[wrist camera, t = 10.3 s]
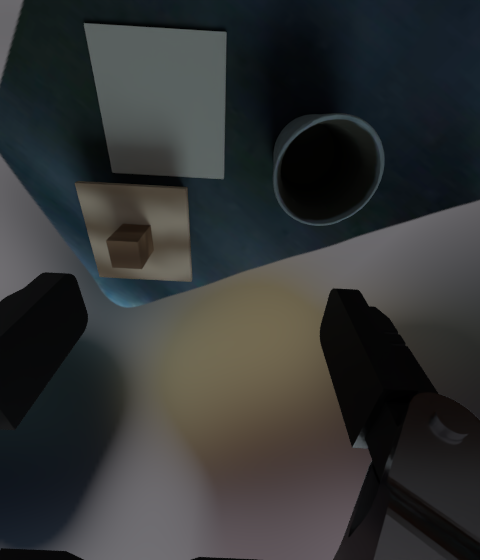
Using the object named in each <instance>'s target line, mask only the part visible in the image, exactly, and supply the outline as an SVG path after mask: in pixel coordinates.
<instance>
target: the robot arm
mask: <svg viewBox="0 0 480 560" xmlns="http://www.w3.org/2000/svg"><path fill="white" fill-rule="evenodd" d="M87 322H88V314H87V310H86V307H85V304H84V301H83V298H82V295H81V291H80V288H79V285H78V282H77V280H76V278H75V276H74V275H72V274H65V273H42V274H40V275H39V276H38V277H37V278H36V279H34V280H33V281H32V282H31V283H30V284H28V285H27V286H26V287H25V288H23V289H21V290H19V291H17V292H15V293H13V294H11V295H9V296H7V297H6V298H4V299H3V300H2V301H1V302H0V429H5V430H6V429H8V430H15V429H16V428H17V426H18V425H19V424H20V422H21V421H22V419H23V418H24V417H25V415H26V413H27V412H28V410H29V409H30V408H31V407H32V405H33V404H34V402H35V401H36V399H37V398H38V397H39V395H40V394H41V392H42V391H43V389H44V388H45V387H46V385H47V384H48V382H49V381H50V380H51V378H52V377H53V375H54V374H55V372H56V371H57V370H58V368H59V367H60V365H61V364H62V362H63V361H64V360H65V358H66V357H67V355H68V354H69V353H70V351H71V350H72V348H73V346H74V345H75V344H76V343H77V341H78V340H79V338H80V337H81V335H82V334H83V333H84V331H85V329H86V326H87ZM320 342H321V346H322V349H323V353H324V356H325V359H326V363H327V366H328V369H329V373H330V376H331V379H332V383H333V386H334V389H335V393H336V396H337V399H338V402H339V405H340V409H341V412H342V416H343V419H344V422H345V426H346V429H347V432H348V435H349V439H350V442H351V445H352V447H353V448H368V449H369V452H370V455H371V458H372V462H371V463H370V465H369V468H368V471H367V473H366V476H365V479H364V482H363V485H362V487H361V490H360V493H359V496H358V499H357V501H356V504H355V507H354V510H353V512H352V516H351V518H350V521H349V524H348V526H347V529H346V532H345V535H344V537H343V540H342V542H341V545H340V547H339V549H338V551H337V553H336V555H335V557H334V559H333V560H480V420H479V419H478V418H477V417H476V416H475V415H474V414H473V413H472V412H471V411H470V410H468V409H467V408H466V407H464V406H463V405H462V404H460V403H458V402H456V401H455V400H453V399H451V398H449V397H446V396H443V395H441V394H438V392H437V391H436V389H435V388H434V386H433V385H432V383H431V382H430V380H429V378H428V377H427V375H426V374H425V372H424V371H423V369H422V368H421V366H420V365H419V364H418V362H417V360H416V359H415V357H414V355H413V354H412V352H411V351H410V349H409V348H408V347H407V346H405V342H404V340H403V339H402V337H401V336H400V335H398V331H397V329H396V328H395V326H394V325H393V323H392V322H391V320H390V319H389V318H388V317H387V316H386V315H384V314H383V313H382V312H381V311H380V310H378V309H377V308H376V307H369V306H368V304H367V302H366V301H365V299H364V297H363V295H362V294H361V292H360V291H359V290H353V289H332V290H331V292H330V294H329V298H328V301H327V305H326V308H325V312H324V316H323V319H322V323H321V327H320ZM0 560H83V559H81V558H79V557H77V556H75V555H73V554H71V553H69V552H67V551H49V550H48V551H47V550H25V549H24V550H23V549H3V548H1V550H0ZM192 560H254V559H233V558H232V559H231V558H210V557H198V558H195V559H192ZM255 560H256V559H255Z"/></svg>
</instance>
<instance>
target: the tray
mask: <svg viewBox="0 0 480 560" xmlns="http://www.w3.org/2000/svg"><path fill="white" fill-rule="evenodd" d="M84 27H85V33H86V38H87V43H88V48H89V53H90V59H91V64H92V69H93V74H94V79H95V85H96V90H97V95H98V100H99V106H100V111H101V116H102V121H103V126H104V132H105V137H106V142H107V147H108V153H109V158H110V163H111V168H112V173H126V174H143V175H161V176H179V177H196V178H214V179H224V146H225V90H226V32H218V31H202V30H186V29H170V28H154V27H137V26H121V25H105V24H89V23H84Z"/></svg>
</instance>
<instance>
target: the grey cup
mask: <svg viewBox="0 0 480 560" xmlns="http://www.w3.org/2000/svg"><path fill="white" fill-rule="evenodd" d="M273 160H274V168H273V169H274V170H273V187H274V192H275V195H276V198H277V200H278V202H279V204H280V206H281V207H282V209H283V210H284V211H285V212H286V213H287V214H288V215H289V216H291V217H292V218H294V219H295V220H297V221H299V222H302V223H305V224H308V225H317V226H322V225H330V224H334V223H337V222H339V221H342V220H344V219H346V218H348V217H350V216H352V215H353V214H355V213H356V212H357V211H359V210H360V209H361V208H362V207H363V206H364V205H365V204H366V203H367V202H368V201H369V200H370V198H371V197H372V196H373V194H374V193H375V191H376V189H377V187H378V185H379V183H380V180H381V177H382V174H383V169H384V151H383V147H382V143H381V140H380V138H379V136H378V134H377V133H376V131H375V130H374V129H373V127H372V126H371V125H369V124H368V123H367V122H366V121H364V120H362V119H361V118H359V117H356V116H353V115H350V114H344V113H333V114H321V115H320V114H310V115H304V116H301V117H298V118H296V119H294V120H293V121H291V122H290V123H289V124H287V125H286V126H285V127H284V129H283V130H282V131H281V133H280V134H279V136H278V138H277V140H276V143H275V146H274V153H273Z"/></svg>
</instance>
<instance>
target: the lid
mask: <svg viewBox="0 0 480 560" xmlns="http://www.w3.org/2000/svg"><path fill="white" fill-rule="evenodd" d="M75 186H76V190H77V194H78V197H79V201H80V205H81V208H82V212H83V216H84V220H85V223H86V227H87V231H88V235H89V238H90V242H91V246H92V249H93V253H94V257H95V261H96V264H97V268H98V272H99V276H100V277H112V278H131V279H150V280H169V281H188V282H191V281H192V265H191V246H190V228H189V209H188V190H187V187H174V186H156V185H138V184H120V183H102V182H84V181H77V182H75Z"/></svg>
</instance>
